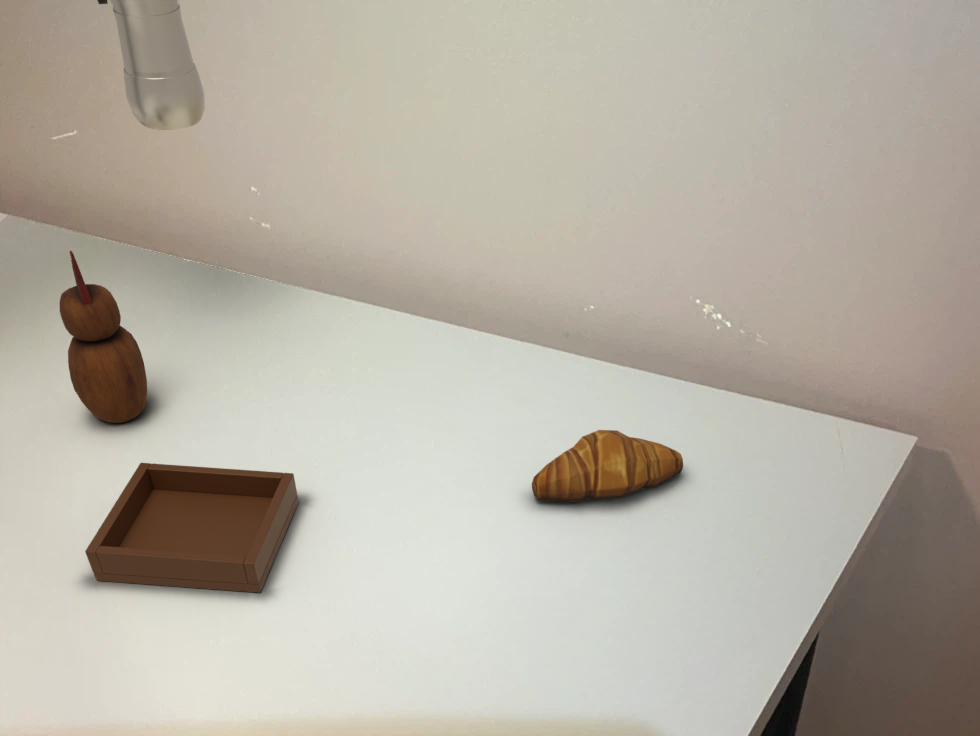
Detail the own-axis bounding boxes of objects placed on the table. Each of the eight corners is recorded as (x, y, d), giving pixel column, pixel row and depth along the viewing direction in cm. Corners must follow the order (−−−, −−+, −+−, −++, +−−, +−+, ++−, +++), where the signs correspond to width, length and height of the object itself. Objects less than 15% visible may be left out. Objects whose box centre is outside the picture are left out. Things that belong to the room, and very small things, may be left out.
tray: (96, 581, 77) (84, 551, 74) (149, 491, 84) (140, 462, 82) (260, 593, 76) (253, 563, 74) (299, 501, 84) (293, 472, 82)
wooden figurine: (146, 431, 90) (95, 261, 79) (80, 432, 90) (19, 262, 79) (160, 392, 95) (114, 226, 84) (97, 393, 95) (42, 226, 83)
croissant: (663, 451, 90) (670, 400, 86) (696, 494, 86) (704, 442, 82) (518, 478, 87) (519, 426, 83) (545, 524, 82) (546, 471, 79)
